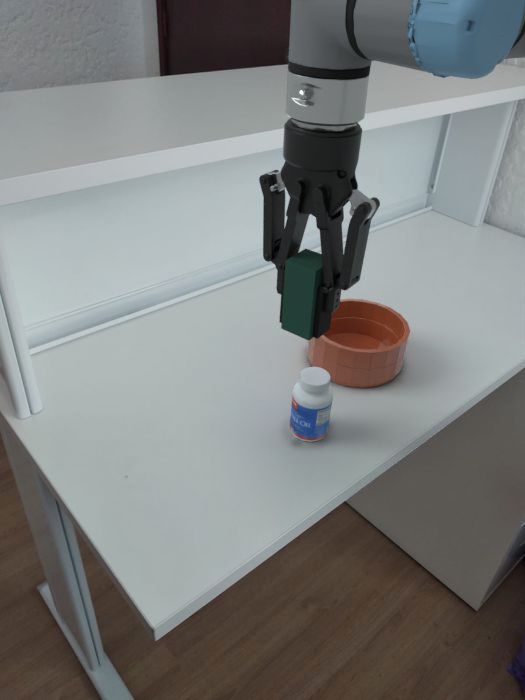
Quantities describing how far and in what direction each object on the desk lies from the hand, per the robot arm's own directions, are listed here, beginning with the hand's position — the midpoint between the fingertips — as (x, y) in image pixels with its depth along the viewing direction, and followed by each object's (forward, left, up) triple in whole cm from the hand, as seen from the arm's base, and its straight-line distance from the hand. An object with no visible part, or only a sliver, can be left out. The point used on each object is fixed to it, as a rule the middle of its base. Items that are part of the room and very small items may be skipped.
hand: (304, 325), depth 69 cm
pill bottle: (0, -3, -19) cm, 19 cm away
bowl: (+4, -22, -19) cm, 29 cm away
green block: (0, 0, 0) cm, 0 cm away
